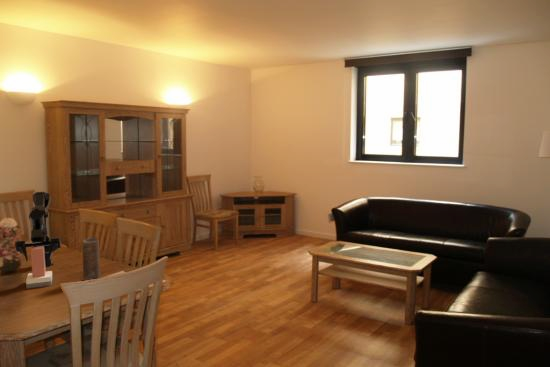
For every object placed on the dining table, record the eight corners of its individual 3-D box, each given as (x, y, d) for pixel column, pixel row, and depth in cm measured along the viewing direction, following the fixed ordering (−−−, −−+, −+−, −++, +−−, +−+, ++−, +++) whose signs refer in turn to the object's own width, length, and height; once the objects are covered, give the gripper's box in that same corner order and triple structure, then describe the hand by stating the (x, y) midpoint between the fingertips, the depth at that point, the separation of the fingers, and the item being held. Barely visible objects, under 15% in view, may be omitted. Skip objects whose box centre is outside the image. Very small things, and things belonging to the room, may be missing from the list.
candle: (103, 278, 216) (101, 237, 214) (92, 283, 209) (90, 241, 207) (90, 277, 219) (88, 236, 216) (79, 281, 212) (77, 240, 209)
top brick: (33, 274, 210) (32, 247, 209) (45, 273, 212) (44, 246, 211) (32, 277, 206) (30, 249, 204) (44, 276, 208) (43, 248, 206)
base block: (28, 281, 212) (28, 273, 212) (52, 278, 216) (52, 270, 215) (26, 288, 203) (26, 279, 202) (51, 285, 207) (50, 276, 206)
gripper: (13, 223, 206) (12, 253, 197) (59, 220, 213) (59, 248, 205) (17, 237, 214) (15, 265, 205) (60, 233, 222) (61, 261, 213)
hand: (38, 260), depth 207 cm, fingers open, 9 cm apart
